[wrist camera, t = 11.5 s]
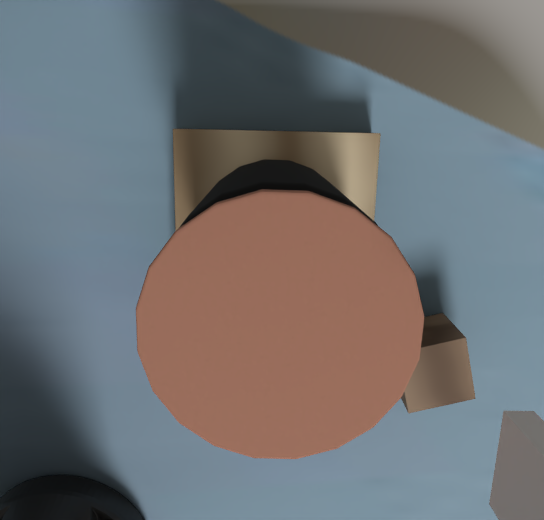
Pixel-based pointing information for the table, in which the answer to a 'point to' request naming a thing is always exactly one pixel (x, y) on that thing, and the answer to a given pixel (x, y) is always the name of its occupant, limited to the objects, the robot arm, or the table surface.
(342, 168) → the pallet dock
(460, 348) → the cargo block
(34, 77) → the table surface
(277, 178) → the coffee jar
